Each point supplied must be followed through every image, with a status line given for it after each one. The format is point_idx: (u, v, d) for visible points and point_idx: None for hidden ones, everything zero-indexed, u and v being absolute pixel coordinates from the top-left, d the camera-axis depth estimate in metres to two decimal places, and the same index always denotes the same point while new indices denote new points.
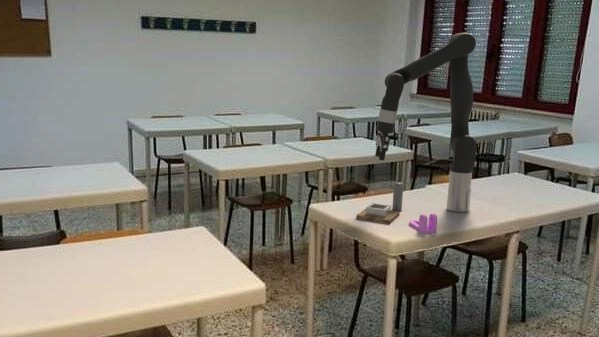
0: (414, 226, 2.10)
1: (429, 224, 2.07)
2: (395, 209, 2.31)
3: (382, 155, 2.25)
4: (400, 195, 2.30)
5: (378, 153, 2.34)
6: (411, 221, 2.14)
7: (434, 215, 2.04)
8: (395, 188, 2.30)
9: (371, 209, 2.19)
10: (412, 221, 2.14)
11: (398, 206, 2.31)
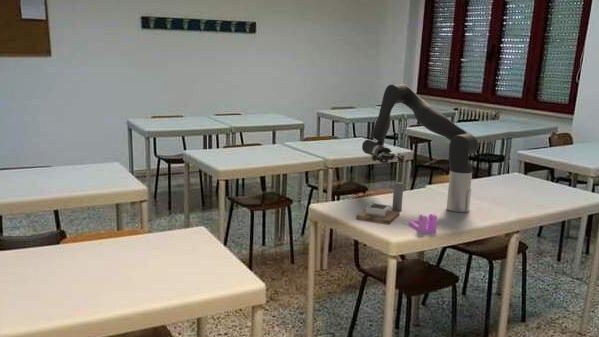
0: (414, 226, 2.10)
1: (429, 224, 2.07)
2: (395, 209, 2.31)
3: (379, 159, 2.41)
4: (400, 195, 2.30)
5: (399, 159, 2.42)
6: (411, 221, 2.14)
7: (434, 215, 2.04)
8: (395, 188, 2.30)
9: (371, 209, 2.19)
10: (412, 221, 2.14)
11: (398, 206, 2.31)
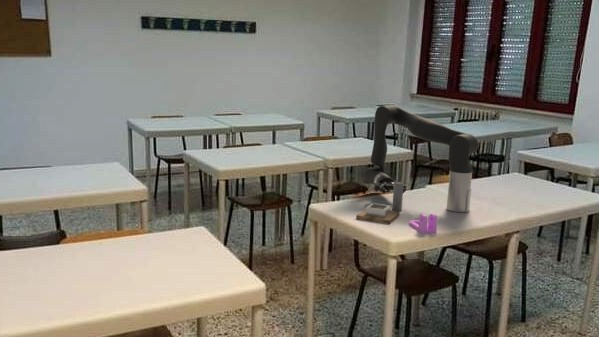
0: (414, 226, 2.09)
1: (429, 224, 2.07)
2: (395, 209, 2.31)
3: (380, 190, 2.39)
4: (400, 195, 2.30)
5: None
6: (411, 221, 2.14)
7: (434, 215, 2.04)
8: (395, 188, 2.30)
9: (371, 209, 2.19)
10: (412, 221, 2.14)
11: (398, 206, 2.31)
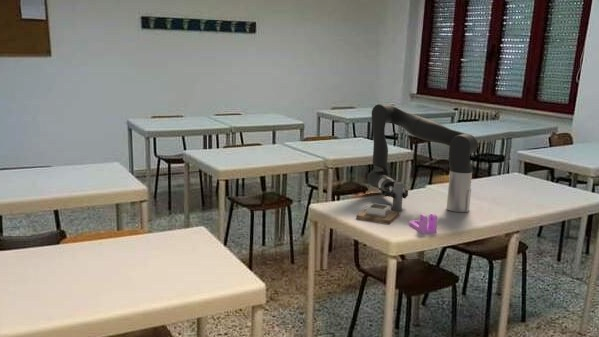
0: (414, 226, 2.09)
1: (429, 224, 2.07)
2: (395, 209, 2.31)
3: (390, 195, 2.31)
4: (400, 195, 2.30)
5: (403, 195, 2.31)
6: (411, 221, 2.14)
7: (434, 215, 2.04)
8: (395, 188, 2.30)
9: (371, 209, 2.19)
10: (412, 221, 2.14)
11: (398, 206, 2.31)
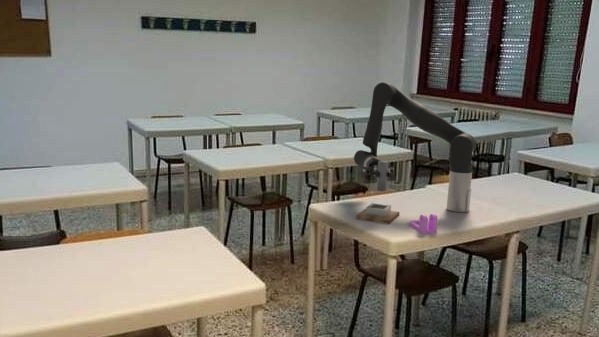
0: (414, 226, 2.09)
1: (429, 224, 2.07)
2: (379, 189, 2.21)
3: (374, 174, 2.20)
4: (385, 174, 2.19)
5: (388, 174, 2.20)
6: (411, 221, 2.14)
7: (434, 215, 2.04)
8: (379, 167, 2.19)
9: (371, 209, 2.19)
10: (412, 221, 2.14)
11: (382, 186, 2.20)
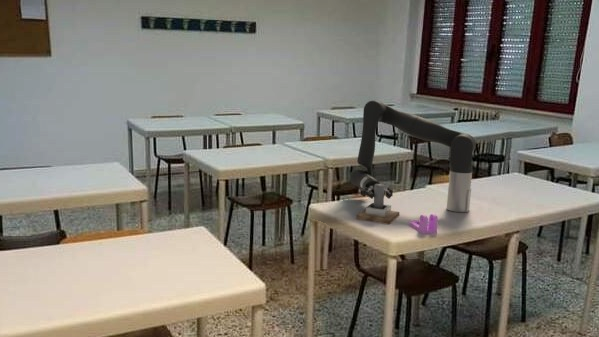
0: (414, 226, 2.09)
1: (429, 224, 2.06)
2: None
3: (368, 195, 2.20)
4: (381, 197, 2.19)
5: (387, 195, 2.20)
6: (411, 221, 2.13)
7: (434, 215, 2.04)
8: (376, 190, 2.19)
9: (371, 209, 2.19)
10: (412, 221, 2.13)
11: None
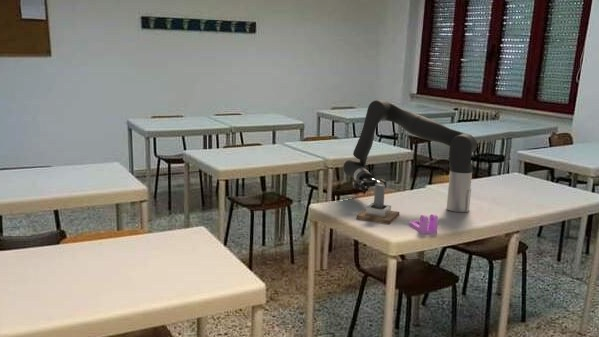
0: (415, 226, 2.09)
1: (430, 224, 2.06)
2: None
3: (360, 188, 2.33)
4: (381, 198, 2.19)
5: None
6: (412, 221, 2.13)
7: (435, 215, 2.04)
8: (376, 190, 2.19)
9: (371, 209, 2.19)
10: (413, 221, 2.13)
11: None
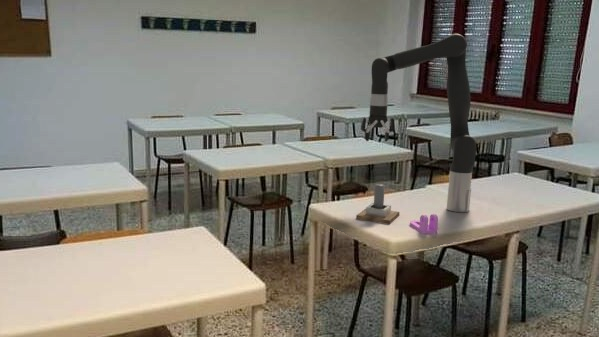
0: (415, 227, 2.09)
1: (430, 225, 2.06)
2: None
3: (365, 135, 2.38)
4: (381, 198, 2.19)
5: (385, 138, 2.39)
6: (412, 221, 2.13)
7: (435, 215, 2.04)
8: (376, 190, 2.19)
9: (371, 209, 2.19)
10: (413, 221, 2.13)
11: None
